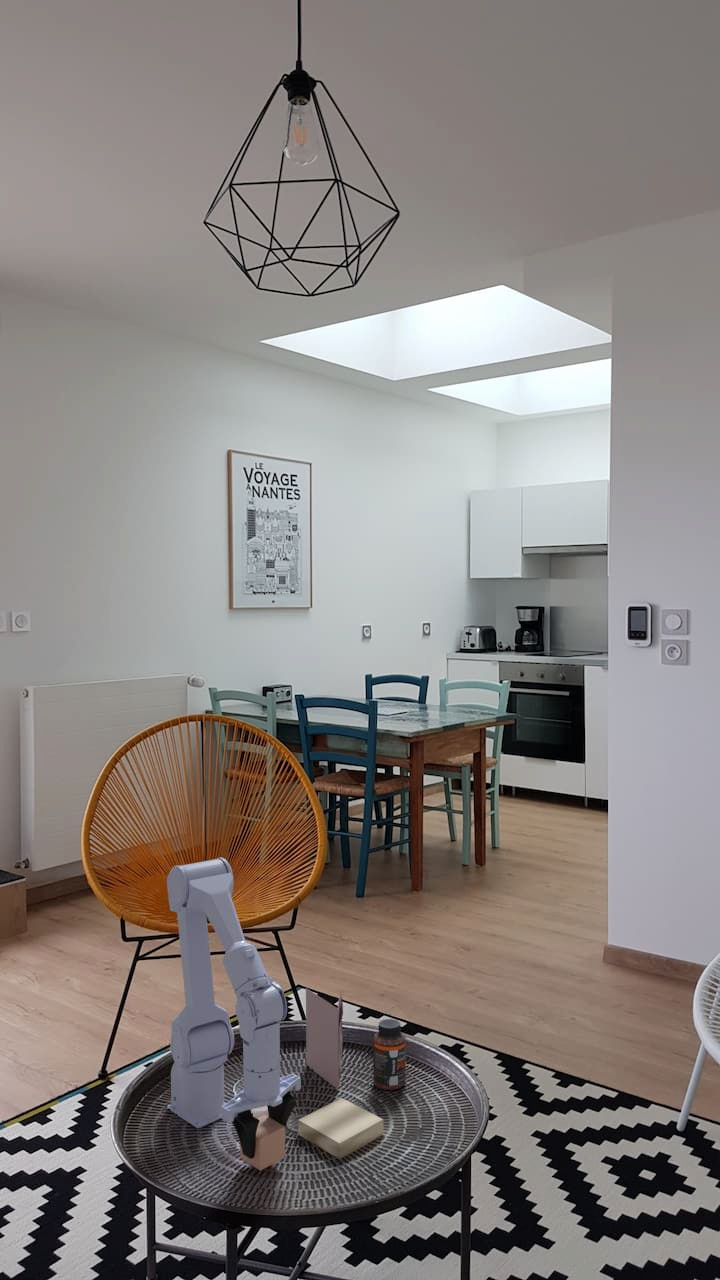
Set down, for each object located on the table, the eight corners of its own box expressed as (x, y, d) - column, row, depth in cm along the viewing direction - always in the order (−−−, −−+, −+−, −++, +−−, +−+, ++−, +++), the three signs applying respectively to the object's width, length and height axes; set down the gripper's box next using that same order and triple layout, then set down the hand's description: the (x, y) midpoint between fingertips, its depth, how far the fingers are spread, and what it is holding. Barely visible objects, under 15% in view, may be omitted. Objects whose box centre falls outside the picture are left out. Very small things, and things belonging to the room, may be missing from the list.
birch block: (298, 1137, 166) (298, 1119, 166) (341, 1114, 173) (341, 1097, 173) (339, 1161, 159) (339, 1143, 159) (383, 1136, 166) (383, 1119, 166)
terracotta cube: (240, 1157, 157) (239, 1126, 157) (264, 1144, 161) (264, 1114, 161) (260, 1170, 154) (260, 1139, 153) (285, 1157, 157) (284, 1126, 157)
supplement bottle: (403, 1093, 180) (402, 1031, 179) (370, 1090, 181) (370, 1029, 180) (408, 1077, 186) (407, 1017, 185) (376, 1074, 187) (376, 1015, 186)
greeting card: (343, 1090, 181) (342, 1008, 180) (302, 1089, 181) (301, 1008, 180) (345, 1060, 192) (345, 983, 192) (307, 1059, 193) (306, 983, 192)
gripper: (240, 1089, 148) (241, 1178, 149) (313, 1057, 159) (313, 1140, 159) (212, 1073, 153) (213, 1159, 154) (284, 1042, 164) (285, 1123, 164)
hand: (262, 1148), depth 157 cm, fingers closed on terracotta cube, 5 cm apart
